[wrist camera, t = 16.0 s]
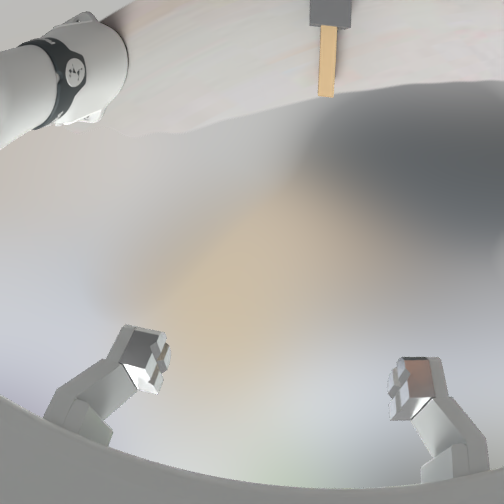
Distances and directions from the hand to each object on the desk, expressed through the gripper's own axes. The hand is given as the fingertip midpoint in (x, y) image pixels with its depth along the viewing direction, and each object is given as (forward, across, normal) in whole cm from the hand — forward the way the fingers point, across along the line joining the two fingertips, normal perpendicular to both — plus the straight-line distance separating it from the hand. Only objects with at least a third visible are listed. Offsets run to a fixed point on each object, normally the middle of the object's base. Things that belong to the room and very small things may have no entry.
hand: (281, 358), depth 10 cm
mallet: (+37, -3, -9) cm, 38 cm away
